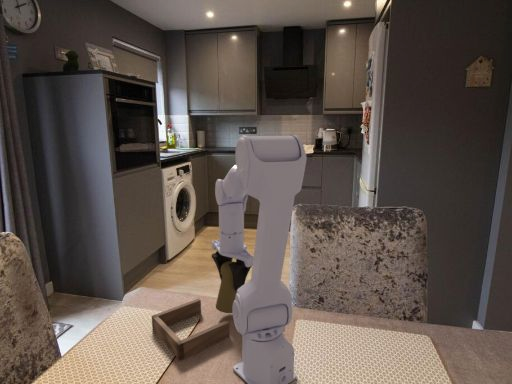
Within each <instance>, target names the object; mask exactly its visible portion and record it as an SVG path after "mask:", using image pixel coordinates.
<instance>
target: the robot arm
mask: <svg viewBox="0 0 512 384" xmlns="http://www.w3.org/2000/svg"><path fill="white" fill-rule="evenodd" d="M234 158H235V164H234V165H233V166H232V167H231V168H230V169H229V171H228V172H227V174H226V175H225V177H224V179H221V178H217V179H216V181H215V187H214V193H215V201H216V203H217V205H218V232H219V233H218V234H219V235H218V236H219V238H218V239H216V240H212V241H211V249H212V250H216V252H214V253H212V254H211V259H212V261H214V263H215V266H216V268H217V271H218V275H219V278H220V281H221V280H222V275H221V272H220V271H221V266H222V264H223V263H225V262H229V261H232V262H233V263H229V267H230V269H231V271H232V275H233V282H234V289H235V291H237V294H236V297H235V300H234V302H233V306H232V311H233V313H232V319H233V324H234V327H235V329H236V332H238V333H239V334H240V335H241V337H242V339H241V341H242V342H241V343H242V344H241V346H242V349H241V351H242V352H241V354H242V356H241V357H242V358H241V359H242V361H239V362H238V363H236V364H234V365H233V366H232V370H233V371H234V372H235V373H236V374H237V375H238V376H239V377H240V378H241V379H242V380H244V382H246V383H247V384H290V383H291V382H293V381H295V380H296V379H297V374H296V373H295V372H294V370H295V348H294V346H293V345H292V343H290V341H289V340H288V339H287V338H286V337H285V335H284V333H285V332H286V326H289V325H290V324H291V321H292V319H293V305H292V304H293V296H292V293H291V292H290V290H289V288H288V286H287V285H286V283H285V282H284V281H282V280H281V279H282V274H283V269H284V268H283V267H284V263H285V255H286V250H287V246H288V241H289V240H288V238H289V233H290V227H291V221H292V215H293V210H294V203H295V197H296V195H297V194H299V192H301V191H302V187H303V182H304V176H305V170H306V165H307V161H308V160H307V159H308V157H307V153H306V150H305V145H304V143H303V140H302V139H301V138H300V137H299V136H298V135H297V134H291V135H265V136H264V135H259V136H258V135H256V136H253V135H252V136H250V135H249V136H248V135H243V134H242V135H241V136H240V137H239V139H238V140H237V142H236V145H235V156H234ZM248 196H250V197H251V198H254V199H256V200H258V202H259V210H258V216H257V217H258V218H257V225H256V233H255V242H254V243H255V244H254V251H253V255H252V254H251V253H250V252H249V251H248V250H247V249H248V245H247V244H245V212H246V210H247V201H248ZM234 259H235V260H236V261H233V260H234ZM250 269H251V275H250V277H251V278H250V279H249V280H247V276H248V274H249V272H250ZM246 280H247V282H246Z"/></svg>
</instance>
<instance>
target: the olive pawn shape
mask: <svg viewBox="0 0 512 384" xmlns="http://www.w3.org/2000/svg"><path fill="white" fill-rule="evenodd" d="M233 262H234V261H233V260H232V261H229V262H225V263H223V264H222V266H221V271H220V272H221V275H222V280H221V279H220V285H219V290H218V294H217V298H216V304H215V309H216V310H217V311H218V312H221V313H225V314H233V311H232V306H233V302H234V300H235V297H236V294H237V291H235V289H234V282H233V275H232V271H231V269H230V267H229V263H233Z"/></svg>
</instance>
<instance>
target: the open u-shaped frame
mask: <svg viewBox="0 0 512 384" xmlns="http://www.w3.org/2000/svg"><path fill="white" fill-rule="evenodd" d="M201 300H202V299H200V298H196V299H193V300H190V301H189V302H185V303H182V304H180V305H177V306H175V307H172V308H169V309H167V310H164V311H161V312H158V313H155V314H152V315H151V325H152V331H153V332H154V333H155V335H156V336H157V337H158V338H159V339H160V340H161V341H162V342H163V344H164V345H165V346H166V347H167V348H168V349H169V351H171V352H172V354H173V356H175V358H177V360H179V361H182V360H184V359H186V358H189V357H190V356H193V355H194V354H196V353H198V352H201V351H202V350H205V349H206V348H209V347H211V346H213V345H215V344H217V343H219V342H221V341H224V340H226V339H227V338H230V322H229V320H227V319H226V320H223V321H222V322H219V323H217V324H215V325H212V326H211V327H207V328H206V329H204V330H201V331H199V332H196V333H194V334H192V335H189V336H187V337H186V338H183V339H181V338H179V336H177V334H176V333H175V332H174V331H173V330H172V329H171V328H170V326H173V325H176V324H177V323H180V322H183V321H184V320H188V319H190V318H192V317H194V316H199V314H202V301H201Z"/></svg>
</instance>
